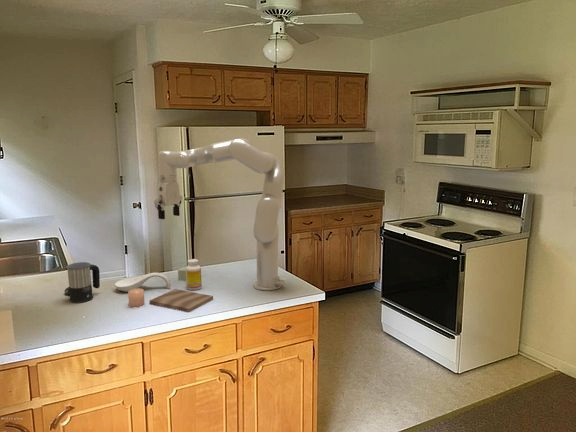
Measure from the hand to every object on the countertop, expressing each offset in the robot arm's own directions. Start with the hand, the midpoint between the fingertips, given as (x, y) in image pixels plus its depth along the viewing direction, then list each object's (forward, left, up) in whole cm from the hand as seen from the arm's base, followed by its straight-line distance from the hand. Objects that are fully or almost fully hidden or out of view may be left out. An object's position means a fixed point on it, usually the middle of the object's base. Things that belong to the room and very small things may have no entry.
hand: (169, 217), depth 217 cm
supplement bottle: (-13, +1, -31) cm, 34 cm away
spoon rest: (+7, +11, -32) cm, 34 cm away
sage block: (-1, -8, -31) cm, 32 cm away
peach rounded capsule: (-5, +28, -31) cm, 42 cm away
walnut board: (-19, +17, -31) cm, 40 cm away
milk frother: (+24, +32, -31) cm, 51 cm away
